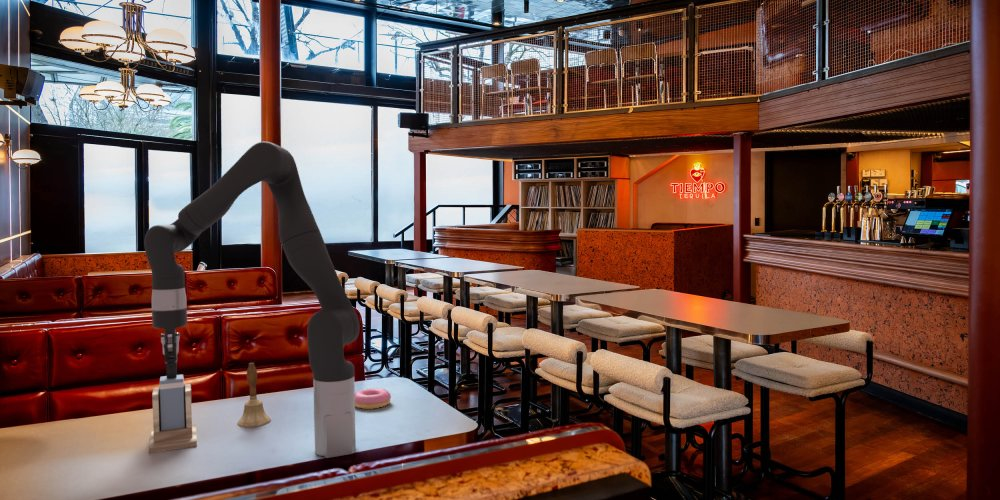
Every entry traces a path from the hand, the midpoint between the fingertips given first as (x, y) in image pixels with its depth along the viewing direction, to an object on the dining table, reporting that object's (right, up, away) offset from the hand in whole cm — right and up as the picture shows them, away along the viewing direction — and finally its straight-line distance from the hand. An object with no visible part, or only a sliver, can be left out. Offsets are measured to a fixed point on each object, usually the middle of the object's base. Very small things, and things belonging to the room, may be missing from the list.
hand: (171, 377), depth 155 cm
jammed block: (0, -14, +1) cm, 14 cm away
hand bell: (+14, -15, +15) cm, 25 cm away
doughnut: (+43, -14, +30) cm, 54 cm away
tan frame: (0, -16, +1) cm, 16 cm away
